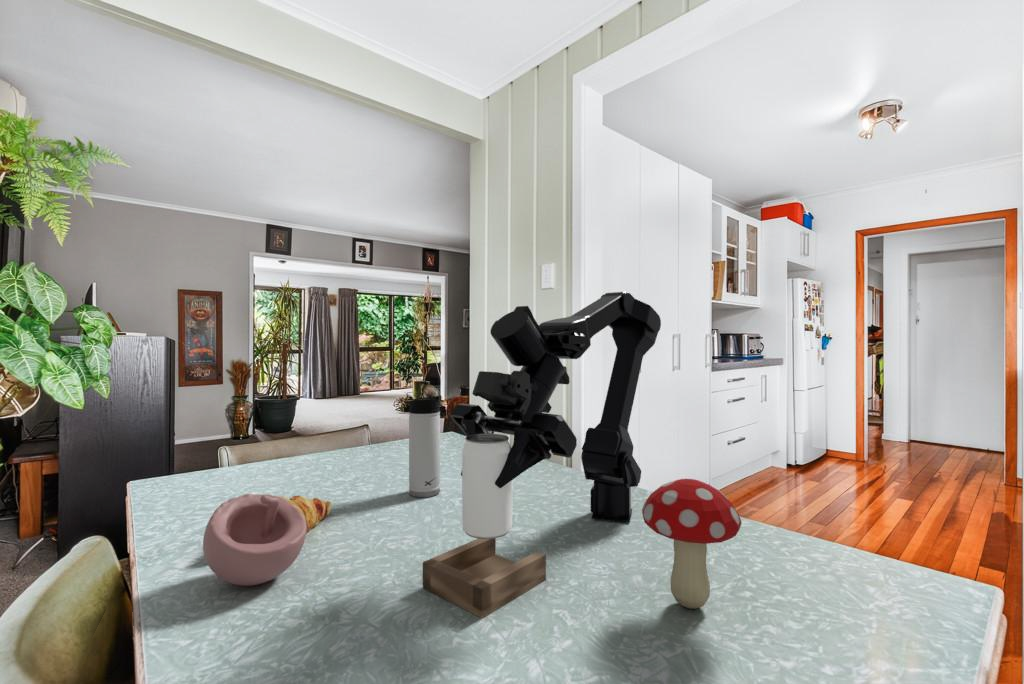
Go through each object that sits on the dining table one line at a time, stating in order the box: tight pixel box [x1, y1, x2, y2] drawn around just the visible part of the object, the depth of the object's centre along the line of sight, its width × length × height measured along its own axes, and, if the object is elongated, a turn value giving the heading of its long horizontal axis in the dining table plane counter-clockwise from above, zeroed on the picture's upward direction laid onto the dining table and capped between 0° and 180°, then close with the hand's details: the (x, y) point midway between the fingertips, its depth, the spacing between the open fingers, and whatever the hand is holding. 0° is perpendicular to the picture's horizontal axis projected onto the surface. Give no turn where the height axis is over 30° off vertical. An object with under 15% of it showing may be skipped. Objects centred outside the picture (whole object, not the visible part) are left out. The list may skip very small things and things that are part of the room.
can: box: [461, 433, 513, 539], centre depth 65 cm, size 6×6×12 cm
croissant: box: [276, 495, 333, 534], centre depth 81 cm, size 21×10×8 cm, turn 155°
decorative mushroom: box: [641, 478, 743, 610], centre depth 59 cm, size 11×11×15 cm
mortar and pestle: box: [202, 493, 308, 587], centre depth 66 cm, size 12×12×12 cm
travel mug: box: [408, 395, 442, 498], centre depth 103 cm, size 6×7×20 cm
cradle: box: [422, 538, 547, 619], centre depth 65 cm, size 12×10×3 cm
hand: (479, 481), depth 64 cm, fingers closed on can, 6 cm apart
